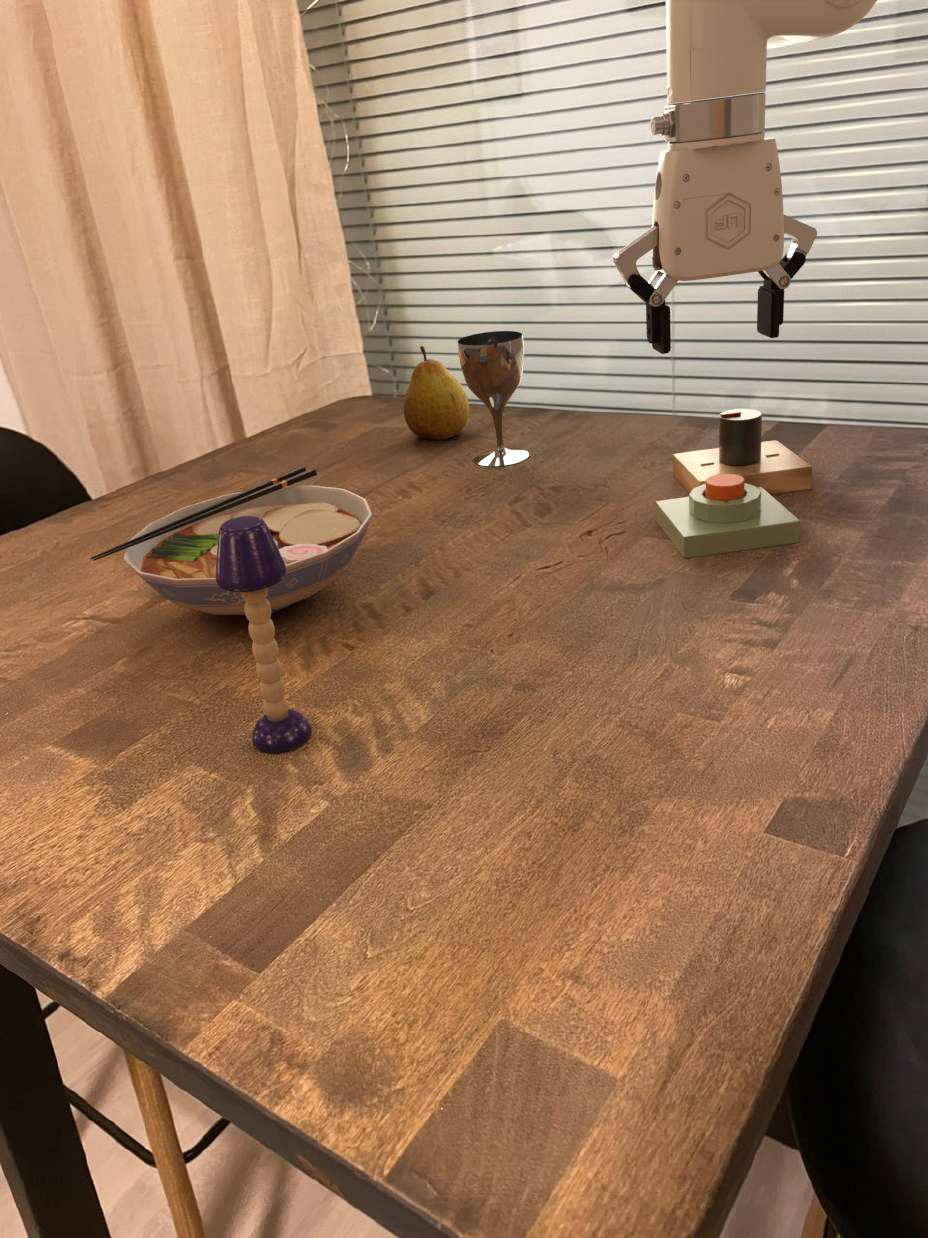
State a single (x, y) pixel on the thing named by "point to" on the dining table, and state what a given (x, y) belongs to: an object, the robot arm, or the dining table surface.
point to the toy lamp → (260, 624)
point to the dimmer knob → (740, 437)
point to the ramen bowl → (297, 519)
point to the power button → (725, 487)
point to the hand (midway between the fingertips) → (714, 342)
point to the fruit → (435, 402)
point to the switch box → (726, 522)
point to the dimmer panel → (747, 469)
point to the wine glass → (494, 383)
